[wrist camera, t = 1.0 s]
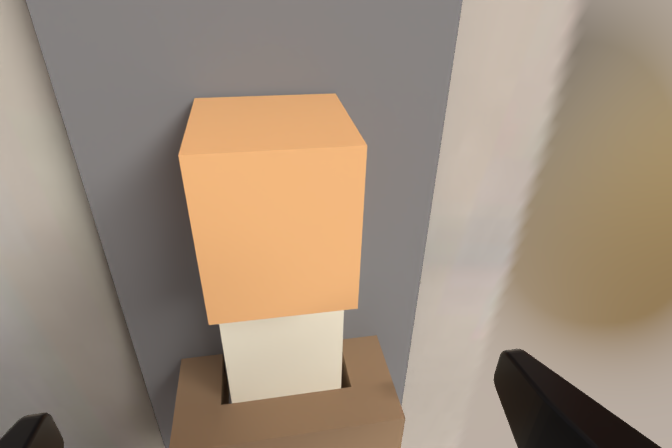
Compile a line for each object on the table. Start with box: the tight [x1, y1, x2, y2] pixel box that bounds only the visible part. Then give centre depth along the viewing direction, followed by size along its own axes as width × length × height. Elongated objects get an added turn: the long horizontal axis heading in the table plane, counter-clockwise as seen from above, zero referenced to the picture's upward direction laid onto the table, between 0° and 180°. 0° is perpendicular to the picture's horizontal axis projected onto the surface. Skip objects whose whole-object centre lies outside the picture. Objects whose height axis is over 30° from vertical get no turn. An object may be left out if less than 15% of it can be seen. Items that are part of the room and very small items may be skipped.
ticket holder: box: [26, 0, 462, 448], centre depth 18 cm, size 30×14×6 cm, turn 179°
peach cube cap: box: [178, 93, 367, 325], centre depth 16 cm, size 6×5×5 cm
